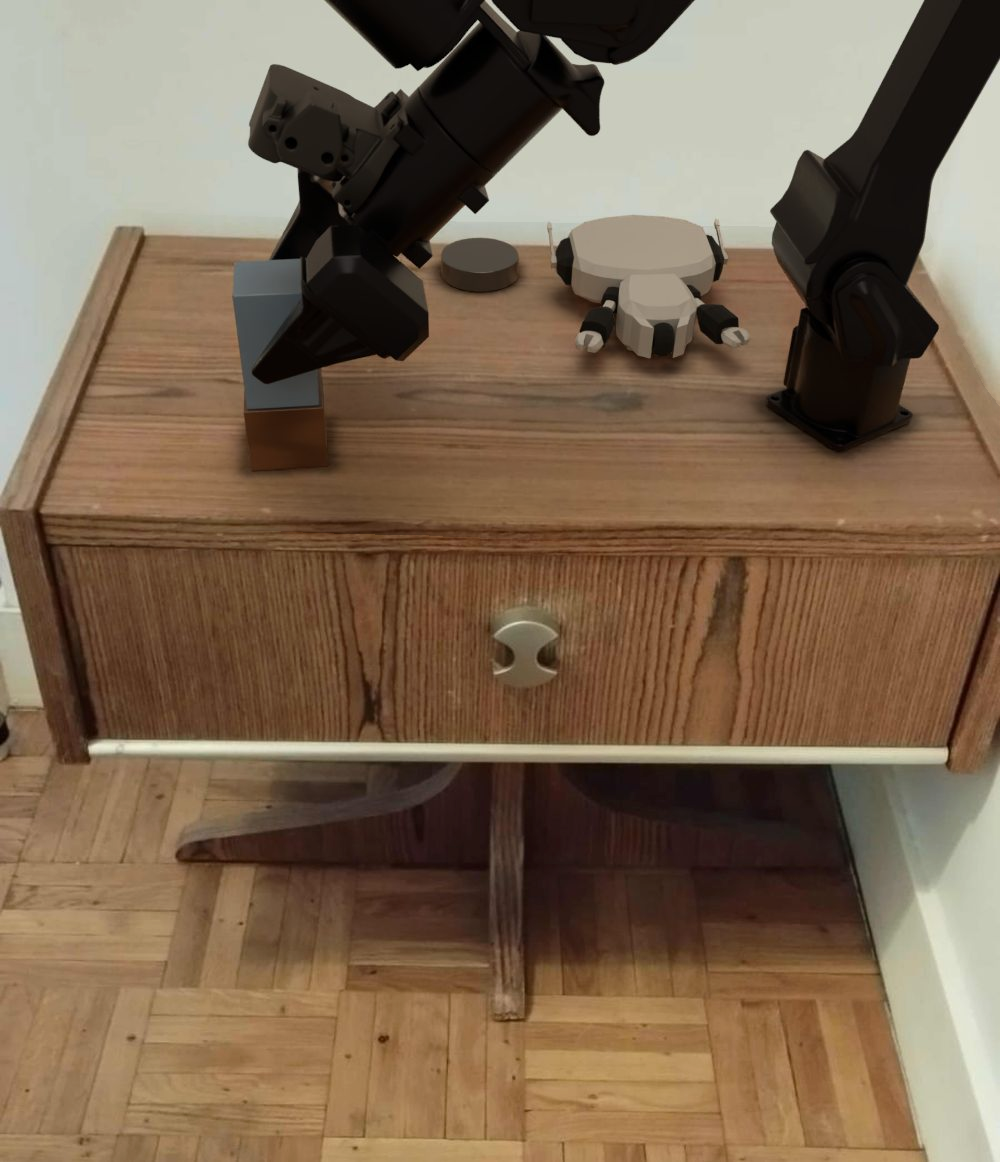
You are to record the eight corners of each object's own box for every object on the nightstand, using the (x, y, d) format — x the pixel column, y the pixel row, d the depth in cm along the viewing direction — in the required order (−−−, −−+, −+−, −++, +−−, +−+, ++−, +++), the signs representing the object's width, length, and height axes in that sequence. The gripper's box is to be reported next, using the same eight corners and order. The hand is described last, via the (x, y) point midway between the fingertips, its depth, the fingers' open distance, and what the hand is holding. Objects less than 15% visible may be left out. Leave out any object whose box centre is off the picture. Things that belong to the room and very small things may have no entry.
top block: (317, 369, 75) (308, 257, 71) (319, 405, 72) (309, 292, 68) (248, 372, 75) (234, 261, 70) (247, 410, 72) (232, 295, 67)
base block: (326, 424, 78) (321, 367, 75) (328, 466, 74) (323, 407, 72) (252, 429, 77) (244, 371, 75) (251, 471, 74) (243, 412, 71)
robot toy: (753, 382, 84) (709, 262, 94) (765, 323, 81) (718, 205, 91) (566, 388, 83) (543, 266, 94) (570, 328, 80) (546, 208, 90)
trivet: (533, 279, 93) (534, 260, 92) (468, 299, 90) (468, 279, 89) (490, 249, 96) (490, 231, 95) (426, 268, 94) (426, 249, 93)
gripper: (332, -41, 68) (150, 169, 74) (346, 82, 54) (119, 330, 60) (479, 105, 74) (300, 289, 80) (526, 251, 60) (304, 461, 65)
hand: (259, 334), depth 71 cm, fingers open, 9 cm apart
